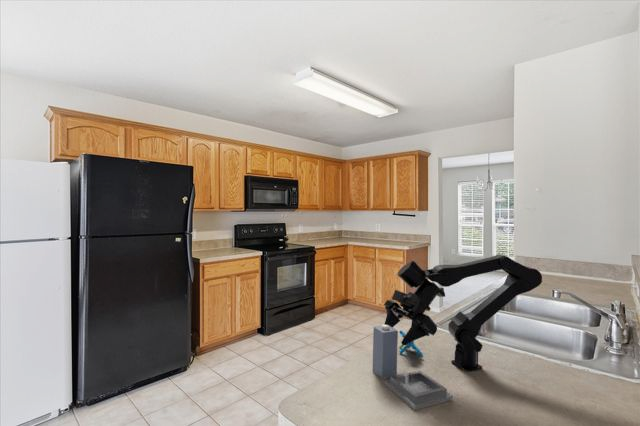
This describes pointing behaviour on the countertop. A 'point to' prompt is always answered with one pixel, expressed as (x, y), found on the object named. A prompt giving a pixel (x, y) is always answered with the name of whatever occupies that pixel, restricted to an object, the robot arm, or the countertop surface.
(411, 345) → the gear
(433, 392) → the grey square tray
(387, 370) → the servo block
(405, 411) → the countertop surface
